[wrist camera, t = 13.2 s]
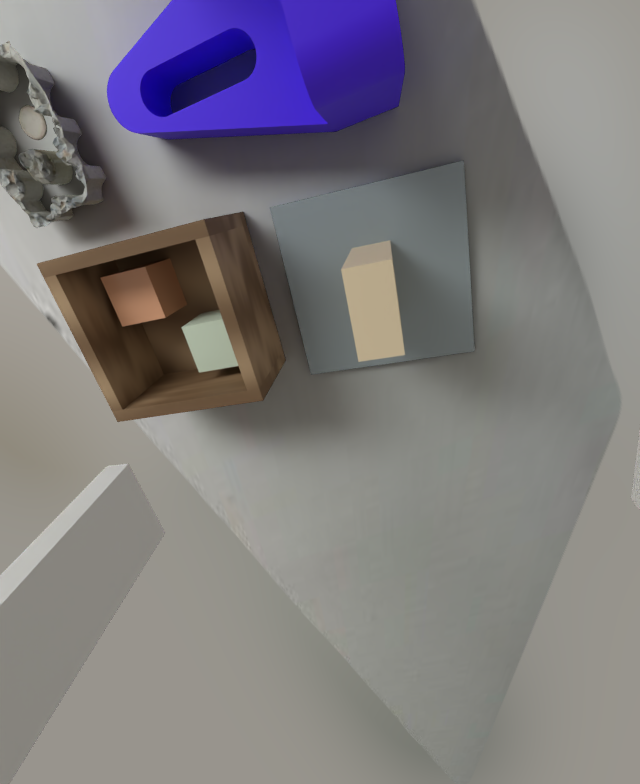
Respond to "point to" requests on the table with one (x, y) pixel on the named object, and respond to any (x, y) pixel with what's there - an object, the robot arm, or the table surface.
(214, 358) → the sage cube
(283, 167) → the table surface
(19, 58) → the egg carton
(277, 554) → the table surface
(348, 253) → the lid
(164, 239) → the box
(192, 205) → the table surface
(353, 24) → the bracket
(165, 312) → the terracotta cube
